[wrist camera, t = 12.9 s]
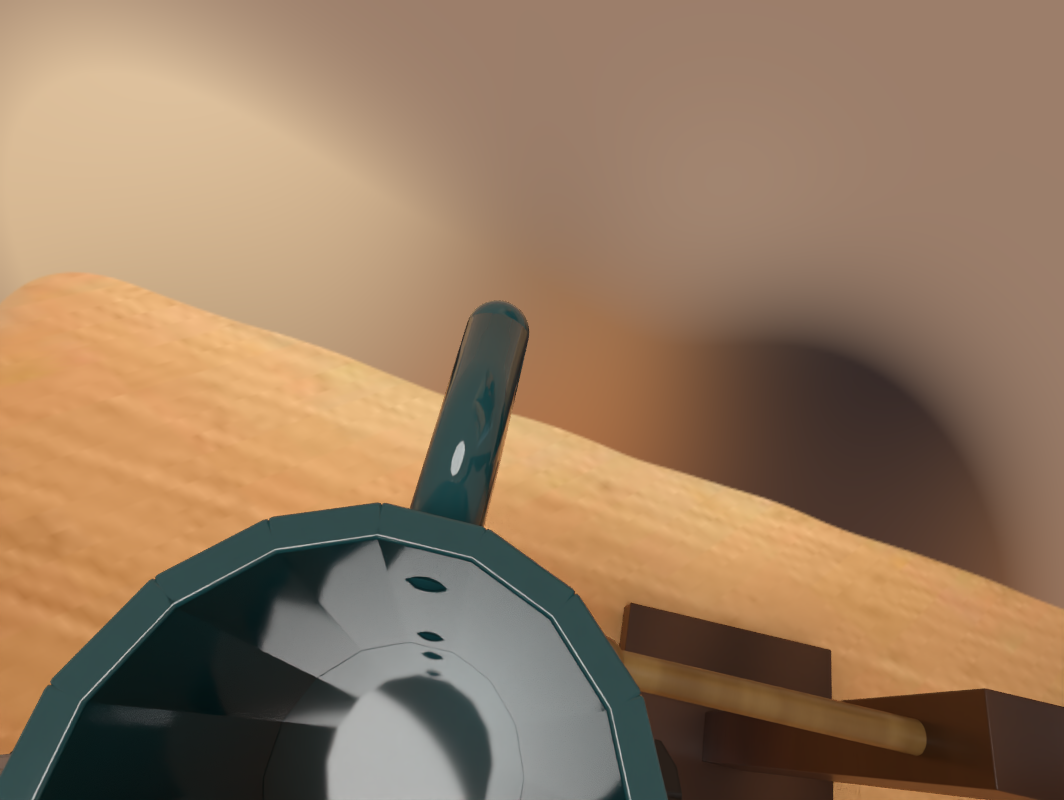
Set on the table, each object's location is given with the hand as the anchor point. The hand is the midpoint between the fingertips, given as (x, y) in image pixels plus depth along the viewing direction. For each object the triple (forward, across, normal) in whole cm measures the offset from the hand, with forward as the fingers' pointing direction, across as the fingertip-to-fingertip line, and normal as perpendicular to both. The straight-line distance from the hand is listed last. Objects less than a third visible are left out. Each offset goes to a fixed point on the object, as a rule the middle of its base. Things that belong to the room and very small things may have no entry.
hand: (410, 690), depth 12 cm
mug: (+4, 0, +3) cm, 4 cm away
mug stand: (+20, -13, +17) cm, 29 cm away
